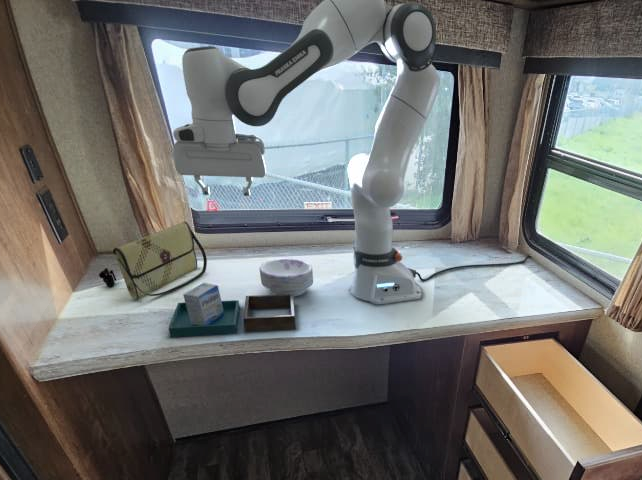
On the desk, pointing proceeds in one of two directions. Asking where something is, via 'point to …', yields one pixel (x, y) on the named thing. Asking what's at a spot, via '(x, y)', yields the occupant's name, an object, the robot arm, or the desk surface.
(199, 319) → the medicine box
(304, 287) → the paper bowls
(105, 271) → the wireless earbuds
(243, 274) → the desk surface
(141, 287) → the clutch purse
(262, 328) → the wooden floating shelf
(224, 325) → the tray
